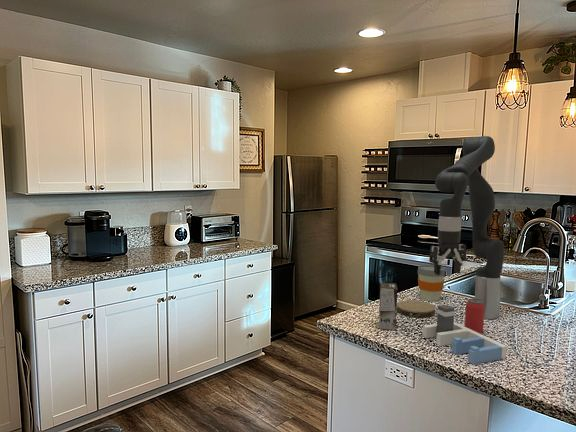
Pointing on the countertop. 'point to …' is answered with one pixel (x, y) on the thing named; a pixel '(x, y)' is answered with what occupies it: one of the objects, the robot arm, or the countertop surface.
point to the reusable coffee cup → (430, 282)
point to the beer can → (474, 315)
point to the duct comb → (467, 343)
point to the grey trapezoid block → (445, 318)
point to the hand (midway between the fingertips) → (447, 273)
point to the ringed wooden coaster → (415, 309)
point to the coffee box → (388, 306)
